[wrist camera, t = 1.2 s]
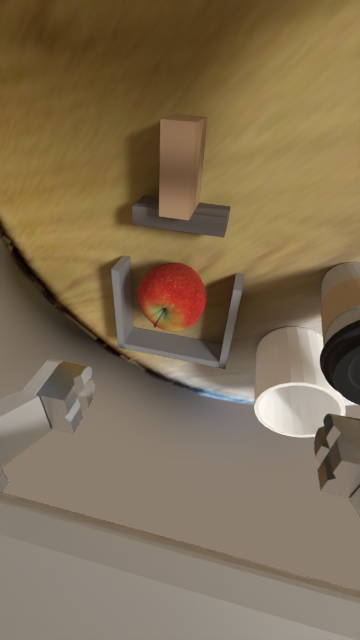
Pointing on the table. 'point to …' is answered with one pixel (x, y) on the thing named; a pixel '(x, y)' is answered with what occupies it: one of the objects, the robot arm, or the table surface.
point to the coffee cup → (341, 329)
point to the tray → (166, 342)
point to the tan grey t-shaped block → (181, 183)
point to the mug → (293, 383)
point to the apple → (172, 296)
